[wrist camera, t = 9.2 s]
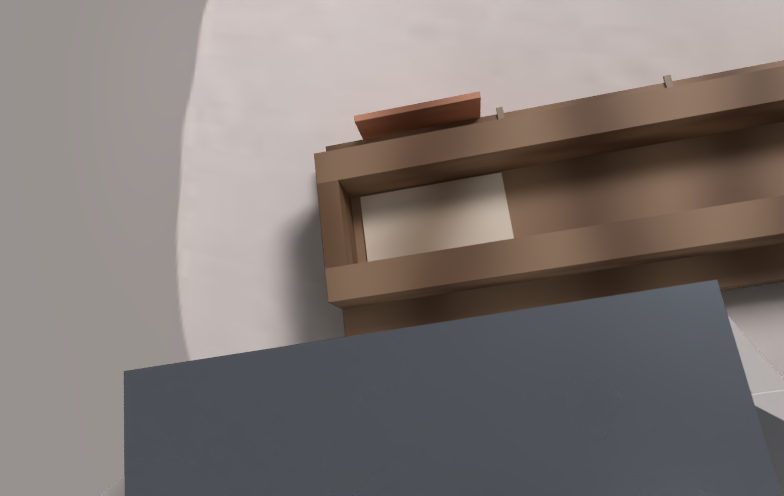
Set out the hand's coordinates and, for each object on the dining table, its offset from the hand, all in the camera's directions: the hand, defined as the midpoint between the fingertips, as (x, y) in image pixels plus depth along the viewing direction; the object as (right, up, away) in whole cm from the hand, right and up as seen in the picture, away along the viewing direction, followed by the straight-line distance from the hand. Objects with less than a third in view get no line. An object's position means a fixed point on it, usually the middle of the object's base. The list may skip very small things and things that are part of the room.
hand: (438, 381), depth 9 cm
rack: (+9, +4, +17) cm, 20 cm away
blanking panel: (+1, -2, +5) cm, 5 cm away
